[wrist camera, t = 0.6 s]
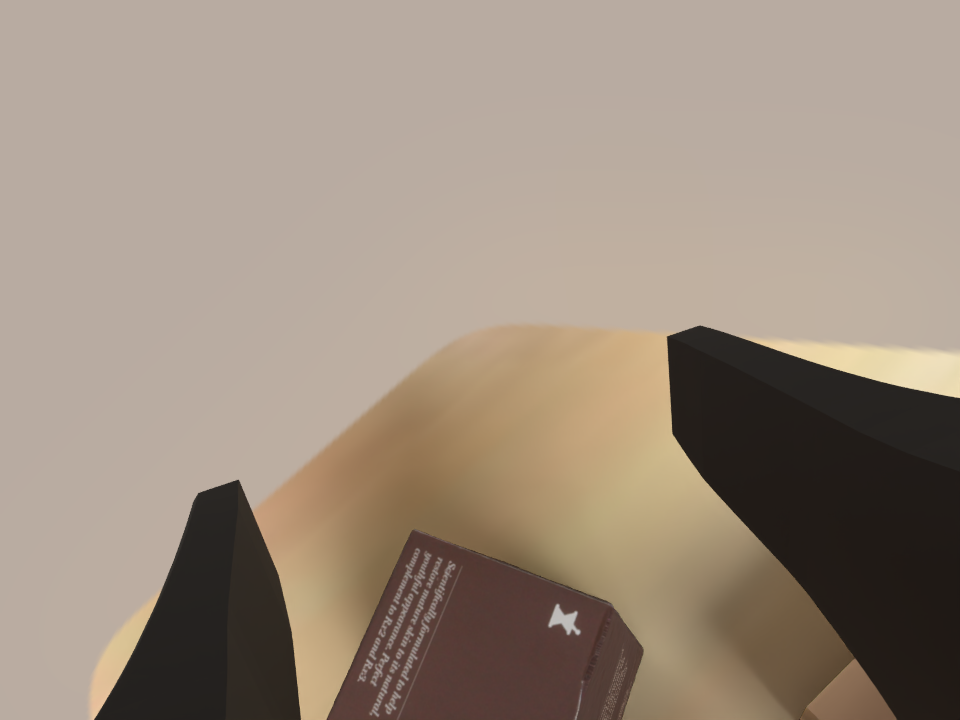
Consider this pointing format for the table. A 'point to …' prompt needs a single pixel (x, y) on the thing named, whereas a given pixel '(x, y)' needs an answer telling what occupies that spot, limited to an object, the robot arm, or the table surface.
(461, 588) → the box
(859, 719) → the walnut block
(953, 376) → the table surface
